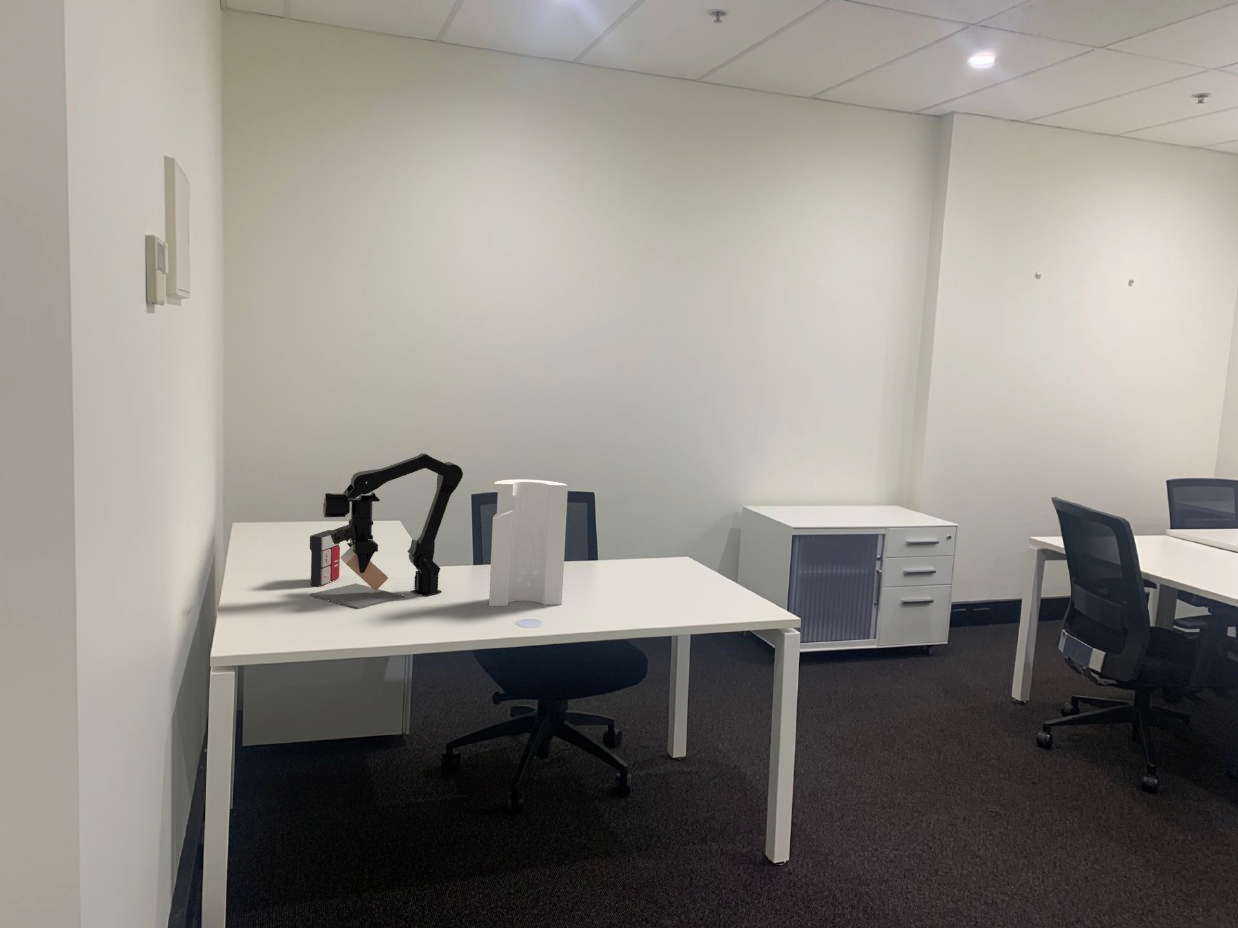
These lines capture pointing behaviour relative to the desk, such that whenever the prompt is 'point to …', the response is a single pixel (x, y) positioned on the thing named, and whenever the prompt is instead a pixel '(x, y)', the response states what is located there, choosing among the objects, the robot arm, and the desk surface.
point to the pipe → (528, 542)
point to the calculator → (324, 558)
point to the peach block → (371, 574)
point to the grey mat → (356, 595)
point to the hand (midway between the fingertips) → (360, 570)
